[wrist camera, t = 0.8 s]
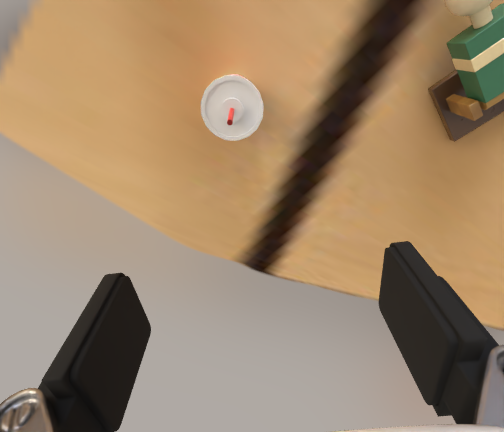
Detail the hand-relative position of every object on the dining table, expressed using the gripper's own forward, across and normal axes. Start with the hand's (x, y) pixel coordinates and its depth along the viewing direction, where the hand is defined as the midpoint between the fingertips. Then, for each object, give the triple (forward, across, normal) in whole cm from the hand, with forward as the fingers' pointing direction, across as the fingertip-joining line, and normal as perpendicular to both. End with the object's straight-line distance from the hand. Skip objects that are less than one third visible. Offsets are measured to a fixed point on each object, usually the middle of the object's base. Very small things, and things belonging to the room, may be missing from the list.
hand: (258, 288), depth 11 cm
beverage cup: (+31, +2, -2) cm, 31 cm away
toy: (+27, -28, +1) cm, 39 cm away
